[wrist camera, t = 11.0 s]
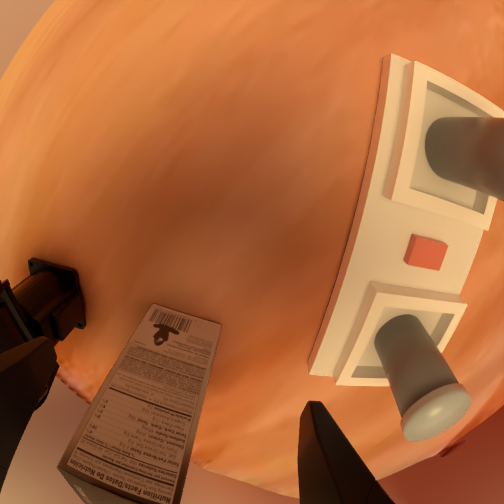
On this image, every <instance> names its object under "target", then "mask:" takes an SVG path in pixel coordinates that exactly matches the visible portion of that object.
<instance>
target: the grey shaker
mask: <svg viewBox="0 0 504 504" xmlns="http://www.w3.org/2000/svg"><path fill="white" fill-rule="evenodd" d="M425 153H426V157H427V160H428V163H429V165H430V167H431V168H432V170H433V171H434V172H435V173H436V174H437V175H438V176H439V177H441V178H442V179H445V180H448V181H451V182H454V183H457V184H460V185H463V186H465V187H468V188H471V189H474V190H476V191H479V192H482V193H484V194H487V195H489V196H492V197H495V198H497V199H499V200H502V201H504V118H496V117H443V118H439V119H437V120H435V121H434V122H433V123H432V124H431V126H430V127H429V129H428V131H427V134H426V138H425Z"/></svg>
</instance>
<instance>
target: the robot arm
mask: <svg viewBox="0 0 504 504" xmlns="http://www.w3.org/2000/svg"><path fill="white" fill-rule="evenodd" d="M28 265H29V270H30V275H29V276H28V277H27V278H25V279H24V280H23V281H22V282H20V283H19V284H18V285H16V286H15V287H14V288H13V289H11V287H10V283H9V281H8V279H6V280H4V281H2V282H1V280H0V492H1V489H2V486H3V483H4V480H5V477H6V474H7V471H8V469H9V466H10V464H11V461H12V459H13V456H14V454H15V451H16V449H17V446H18V444H19V442H20V440H21V437H22V435H23V433H24V430H25V429H26V426H27V424H28V422H29V420H30V418H31V416H32V414H33V412H34V411H35V410H37V409H38V408H39V407H40V406H41V405H42V404H43V403H44V401H45V400H46V398H47V396H48V393H49V390H50V388H51V385H52V383H53V380H54V378H55V376H56V373H57V371H58V368H59V364H58V363H57V361H56V360H57V355H56V352H55V349H54V347H55V345H56V344H57V343H58V342H59V341H63V340H64V339H65V338H66V337H67V336H68V334H69V333H70V332H71V331H72V330H73V329H74V327H76V328H79V329H84V328H85V326H86V322H85V317H84V312H83V306H82V301H81V295H80V288H79V281H78V275H77V272H76V271H75V270H74V269H71V268H67V267H64V266H60V265H56V264H52V263H49V262H45V261H42V260H38V259H35V258H31V259H30V260H28ZM72 275H73V276H72ZM298 478H299V496H300V504H395V503H394V502H393V500H392V499H391V498H390V497H389V496H388V495H387V493H386V492H385V491H384V489H383V488H382V487H381V486H380V484H379V483H378V481H377V480H375V477H374V476H373V475H372V473H371V472H370V470H369V469H368V468H367V466H366V465H365V463H364V462H363V461H362V459H361V458H360V456H359V455H358V454H357V452H356V451H355V449H354V448H353V446H352V445H351V444H350V442H349V441H348V439H347V438H346V437H345V435H344V434H343V432H342V431H341V429H340V428H339V426H338V425H337V424H336V422H335V421H334V419H333V418H332V416H331V415H330V413H329V412H328V411H327V409H326V408H325V406H324V405H323V403H322V402H320V401H308V402H307V404H306V406H305V408H304V410H303V412H302V414H301V417H300V428H299V444H298Z"/></svg>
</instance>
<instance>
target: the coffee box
mask: <svg viewBox="0 0 504 504" xmlns="http://www.w3.org/2000/svg"><path fill="white" fill-rule="evenodd" d="M221 327H222V326H221V325H220V324H217V323H214V322H211V321H207V320H204V319H201V318H197V317H194V316H191V315H188V314H184V313H181V312H178V311H175V310H172V309H168V308H165V307H162V306H159V305H157V304H152V305H151V307H150V309H149V310H148V312H147V313H146V315H145V316H144V318H143V319H142V321H141V322H140V324H139V326H138V327H137V329H136V330H135V332H134V333H133V335H132V336H131V338H130V340H129V342H128V343H127V345H126V346H125V348H124V349H123V351H122V353H121V354H120V356H119V358H118V359H117V361H116V363H115V364H114V366H113V367H112V369H111V370H110V372H109V374H108V375H107V377H106V379H105V380H104V382H103V384H102V386H101V387H100V389H99V391H98V392H97V394H96V396H95V397H94V399H93V401H92V402H91V404H90V406H89V408H88V410H87V411H86V413H85V415H84V417H83V418H82V420H81V422H80V424H79V426H78V428H77V429H76V431H75V433H74V435H73V437H72V439H71V440H70V442H69V444H68V446H67V448H66V450H65V452H64V454H63V456H62V458H61V460H60V462H59V463H58V465H57V468H58V470H59V471H60V472H61V473H62V475H63V476H64V478H65V479H66V480H67V482H68V483H69V484H70V486H71V487H72V488H73V489H74V491H75V492H76V493H77V494H78V496H79V497H80V498H81V499H82V501H83V502H84V503H85V504H180V501H181V497H182V492H183V488H184V483H185V479H186V475H187V470H188V466H189V462H190V458H191V453H192V449H193V444H194V440H195V436H196V432H197V428H198V423H199V419H200V415H201V411H202V406H203V402H204V398H205V393H206V389H207V385H208V381H209V377H210V373H211V369H212V365H213V361H214V357H215V353H216V349H217V344H218V340H219V336H220V332H221Z"/></svg>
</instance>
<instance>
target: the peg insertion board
mask: <svg viewBox="0 0 504 504" xmlns="http://www.w3.org/2000/svg"><path fill="white" fill-rule="evenodd" d="M443 117H496V118H504V111H503V110H502V109H500V108H499V107H497V106H496V105H495V104H493V103H492V102H490V101H489V100H487V99H486V98H484V97H482V96H481V95H479V94H478V93H476V92H474V91H473V90H471V89H469V88H468V87H466V86H464V85H463V84H461V83H459V82H457V81H455V80H454V79H452V78H450V77H448V76H446V75H444V74H442V73H440V72H438V71H436V70H434V69H432V68H430V67H428V66H426V65H424V64H422V63H419V62H417V61H415V60H414V61H409V60H407V59H404V58H402V57H400V56H397V55H394V54H392V53H391V54H389V55H388V56H386V57H385V58H383V64H382V73H381V81H380V89H379V96H378V103H377V109H376V116H375V122H374V128H373V133H372V139H371V144H370V149H369V154H368V159H367V164H366V169H365V174H364V178H363V183H362V187H361V191H360V196H359V200H358V204H357V208H356V212H355V216H354V220H353V224H352V228H351V231H350V235H349V239H348V242H347V246H346V249H345V253H344V256H343V260H342V263H341V267H340V270H339V273H338V276H337V280H336V283H335V286H334V289H333V292H332V295H331V298H330V301H329V305H328V307H327V310H326V313H325V316H324V319H323V322H322V325H321V328H320V331H319V333H318V336H317V339H316V342H315V344H314V347H313V350H312V352H311V355H310V357H309V360H308V371H309V375H320V376H334V381H335V385H348V386H390V387H391V390H392V392H393V395H394V398H395V400H396V403H397V406H398V409H399V412H400V414H401V417H402V419H401V427H402V430H403V433H404V436H405V438H406V439H407V440H408V441H422V440H426V439H429V438H431V437H434V436H436V435H438V434H440V433H442V432H444V431H445V430H447V429H448V428H450V427H451V426H452V425H454V424H455V423H456V422H457V421H458V420H459V419H460V418H461V417H462V416H463V415H464V414H465V413H466V411H467V410H468V408H469V406H470V404H471V398H470V396H469V394H468V392H467V391H466V389H465V387H464V386H463V385H462V384H459V383H458V381H457V379H456V378H455V376H454V374H453V372H452V371H451V369H450V367H449V366H448V364H447V362H446V361H445V359H444V357H443V356H442V354H441V353H442V352H443V350H444V348H445V346H446V345H447V343H448V341H449V340H450V338H451V336H452V334H453V332H454V330H455V329H456V327H457V325H458V323H459V321H460V319H461V317H462V315H463V313H464V311H465V309H466V307H467V305H468V304H467V303H466V302H465V301H464V300H463V298H462V297H461V296H460V295H459V294H460V292H461V290H462V287H463V285H464V283H465V280H466V278H467V275H468V273H469V270H470V268H471V265H472V263H473V260H474V257H475V255H476V252H477V249H478V246H479V243H480V240H481V237H482V234H483V231H484V230H487V231H488V230H489V226H490V223H491V220H492V216H493V213H494V209H495V205H496V201H497V198H495V197H492V196H489V195H487V194H484V193H482V192H479V191H476V190H474V189H471V188H468V187H465V186H463V185H460V184H457V183H454V182H451V181H448V180H445V179H442V178H441V177H439V176H438V175H437V174H436V173H435V172H434V171H433V170H432V168H431V167H430V165H429V163H428V160H427V157H426V153H425V138H426V134H427V131H428V129H429V127H430V126H431V124H432V123H433V122H434V121H435V120H437V119H439V118H443Z"/></svg>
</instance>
